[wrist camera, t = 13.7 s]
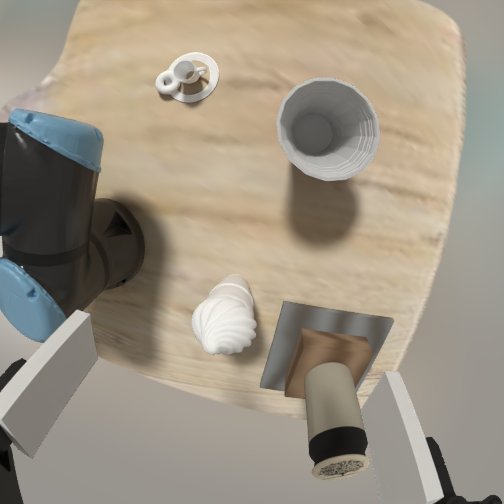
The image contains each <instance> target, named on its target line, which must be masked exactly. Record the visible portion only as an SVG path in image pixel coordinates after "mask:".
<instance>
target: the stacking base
mask: <svg viewBox="0 0 504 504" xmlns="http://www.w3.org/2000/svg"><path fill="white" fill-rule="evenodd" d="M393 322H394V320H393V318H389V317H382V316H375V315H368V314H361V313H354V312H347V311H341V310H335V309H328V308H322V307H316V306H310V305H304V304H298V303H293V302H287V301H284V302H283V305H282V309H281V313H280V316H279V320H278V324H277V327H276V331H275V334H274V338H273V342H272V345H271V349H270V352H269V355H268V359H267V362H266V366H265V369H264V373H263V376H262V379H261V383H260V388H265V389H272V390H279V391H285V397H293V398H302V399H306V396H305V383H304V381H305V377H306V375H307V374H308V372H309V371H310V370H312V369H313V368H314V367H316V366H318V365H321V364H324V363H331V362H335V363H341V364H344V365H346V366H347V367H348V368H349V369H350V371H351V374H352V378H353V382H354V386H355V390H356V392H357V391H358V389H359V387H360V386H361V384H362V382H363V380H364V379H365V377H366V375H367V373H368V372H369V370H370V368H371V366H372V364H373V362H374V361H375V359H376V357H377V355H378V353H379V351H380V349H381V347H382V345H383V343H384V341H385V339H386V337H387V335H388V333H389V331H390V329H391V327H392V325H393Z"/></svg>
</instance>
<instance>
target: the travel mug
mask: <svg viewBox="0 0 504 504" xmlns="http://www.w3.org/2000/svg"><path fill="white" fill-rule="evenodd" d="M304 383H305V396H306V410H307V425H308V442H309V455H310V457H311V459H312V460H313V461H314V462H315V465H314V468H313V469H312V474H313V475H314V476H315V477H316V478H319V479H323V480H335V479H343V478H347V477H350V476H353V475H356V474H358V473H360V472H362V471H363V470H364V469H365V468H366V467H367V466H368V465H369V463H370V461H369V458H368V457H366V455H365V450H366V448H367V445H368V441H367V437H366V432H365V428H364V423H363V419H362V415H361V410H360V406H359V402H358V398H357V394H356V390H355V386H354V382H353V378H352V374H351V371H350V369H349V368H348V367H347V366H346V365H344V364H341V363H335V362H331V363H324V364H321V365H318V366H316V367H314V368H313V369H312V370H310V371H309V372H308V374H307V375H306V377H305V381H304Z"/></svg>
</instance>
